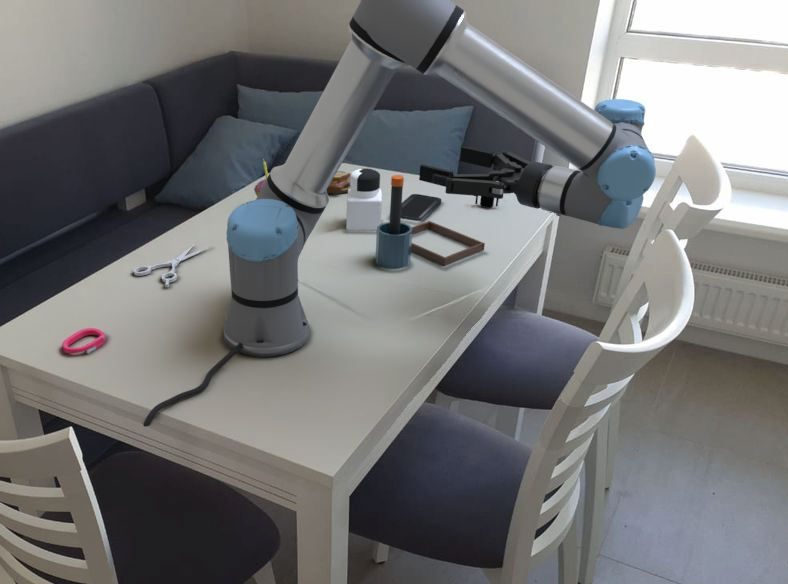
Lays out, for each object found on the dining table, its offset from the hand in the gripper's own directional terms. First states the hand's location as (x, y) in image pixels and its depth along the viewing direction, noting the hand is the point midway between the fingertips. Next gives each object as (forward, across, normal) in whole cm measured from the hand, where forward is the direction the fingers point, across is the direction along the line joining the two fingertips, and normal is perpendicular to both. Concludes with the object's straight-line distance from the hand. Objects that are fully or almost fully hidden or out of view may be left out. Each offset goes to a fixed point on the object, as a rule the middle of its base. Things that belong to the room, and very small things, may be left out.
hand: (441, 162), depth 149 cm
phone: (+23, +28, -24) cm, 43 cm away
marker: (+10, 0, -23) cm, 25 cm away
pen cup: (+10, 0, -24) cm, 26 cm away
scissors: (+45, -29, -24) cm, 59 cm away
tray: (+7, +12, -24) cm, 27 cm away
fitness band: (+32, -62, -24) cm, 74 cm away
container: (+27, +12, -24) cm, 38 cm away
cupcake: (+51, +7, -24) cm, 57 cm away
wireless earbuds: (+12, +41, -24) cm, 49 cm away
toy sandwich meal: (+48, +28, -24) cm, 61 cm away
